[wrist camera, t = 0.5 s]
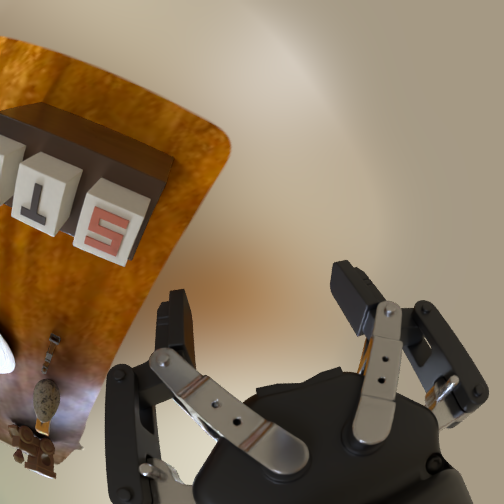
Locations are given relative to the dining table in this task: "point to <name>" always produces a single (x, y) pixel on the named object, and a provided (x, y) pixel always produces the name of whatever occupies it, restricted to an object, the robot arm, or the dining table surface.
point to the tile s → (110, 221)
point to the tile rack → (88, 155)
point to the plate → (6, 357)
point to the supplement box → (43, 427)
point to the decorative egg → (46, 400)
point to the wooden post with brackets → (50, 351)
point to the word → (37, 186)
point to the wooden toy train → (33, 450)
